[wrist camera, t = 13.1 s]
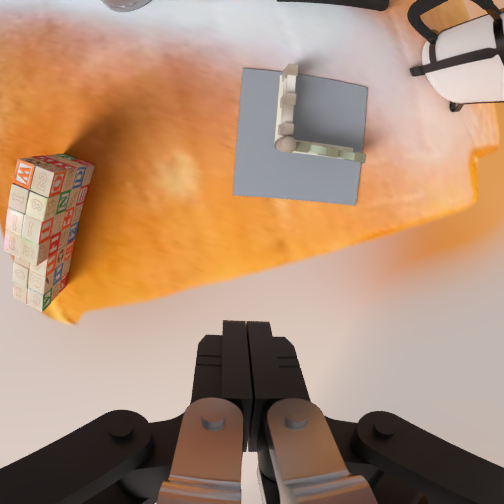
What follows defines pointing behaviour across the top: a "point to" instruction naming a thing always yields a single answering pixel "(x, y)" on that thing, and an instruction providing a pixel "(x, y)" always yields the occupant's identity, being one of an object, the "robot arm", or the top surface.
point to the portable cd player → (350, 3)
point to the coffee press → (463, 55)
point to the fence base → (287, 110)
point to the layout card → (299, 139)
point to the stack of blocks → (44, 224)
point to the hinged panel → (330, 152)
